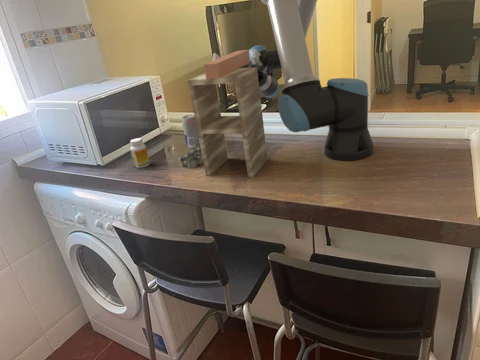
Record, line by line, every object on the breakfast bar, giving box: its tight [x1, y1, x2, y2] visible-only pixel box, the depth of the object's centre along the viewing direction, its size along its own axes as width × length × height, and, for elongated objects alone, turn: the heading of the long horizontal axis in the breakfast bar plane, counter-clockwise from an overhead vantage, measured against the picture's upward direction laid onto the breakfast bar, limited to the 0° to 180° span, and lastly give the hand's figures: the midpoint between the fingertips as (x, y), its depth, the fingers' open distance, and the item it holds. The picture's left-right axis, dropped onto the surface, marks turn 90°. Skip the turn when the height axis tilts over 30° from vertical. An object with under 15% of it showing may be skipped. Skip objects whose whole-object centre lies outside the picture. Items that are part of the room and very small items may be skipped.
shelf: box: [187, 67, 268, 179], centre depth 117 cm, size 16×14×30 cm
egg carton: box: [177, 146, 204, 169], centre depth 132 cm, size 11×8×4 cm
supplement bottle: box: [129, 137, 151, 169], centre depth 135 cm, size 5×5×10 cm
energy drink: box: [181, 114, 200, 150], centre depth 146 cm, size 5×5×12 cm
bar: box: [203, 49, 250, 79], centre depth 114 cm, size 4×24×4 cm, turn 158°
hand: (233, 55), depth 117 cm, fingers open, 13 cm apart
